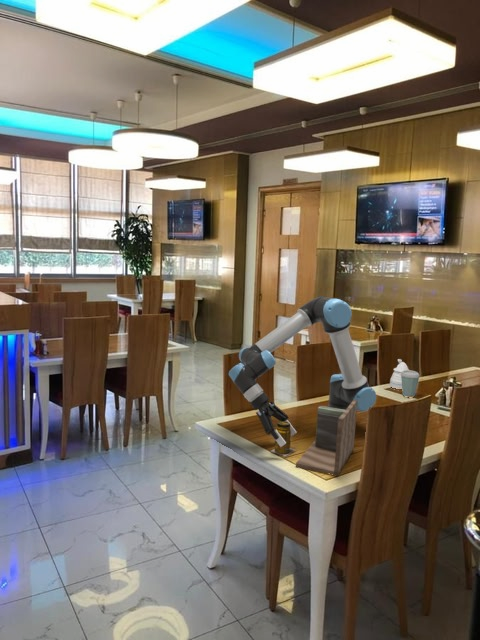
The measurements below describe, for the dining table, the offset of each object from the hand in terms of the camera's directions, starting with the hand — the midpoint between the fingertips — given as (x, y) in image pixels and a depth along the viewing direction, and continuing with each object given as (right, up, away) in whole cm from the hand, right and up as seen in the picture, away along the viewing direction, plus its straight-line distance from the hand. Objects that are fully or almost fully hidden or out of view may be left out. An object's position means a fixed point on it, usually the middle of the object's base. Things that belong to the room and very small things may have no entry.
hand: (289, 439), depth 199 cm
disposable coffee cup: (+79, +3, +92) cm, 121 cm away
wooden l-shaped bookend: (+14, -7, -3) cm, 16 cm away
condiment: (-2, -5, +2) cm, 6 cm away
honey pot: (+81, +5, +111) cm, 138 cm away
